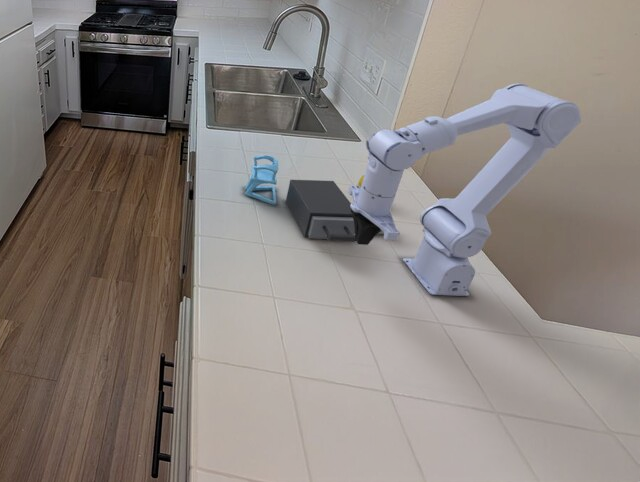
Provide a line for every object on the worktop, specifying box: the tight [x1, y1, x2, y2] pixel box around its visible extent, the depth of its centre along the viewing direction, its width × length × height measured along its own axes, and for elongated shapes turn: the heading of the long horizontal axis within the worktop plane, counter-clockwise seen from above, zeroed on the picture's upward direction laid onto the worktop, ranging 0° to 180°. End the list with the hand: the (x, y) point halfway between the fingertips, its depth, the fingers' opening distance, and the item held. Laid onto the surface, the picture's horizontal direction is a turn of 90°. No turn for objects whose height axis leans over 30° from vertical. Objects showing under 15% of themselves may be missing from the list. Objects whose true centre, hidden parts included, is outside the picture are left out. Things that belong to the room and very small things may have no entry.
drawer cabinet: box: [285, 179, 353, 239], centre depth 99 cm, size 14×12×8 cm
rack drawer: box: [308, 215, 356, 243], centre depth 96 cm, size 17×10×6 cm, turn 178°
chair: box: [244, 154, 279, 206], centre depth 108 cm, size 8×8×12 cm
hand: (361, 242), depth 80 cm, fingers closed
